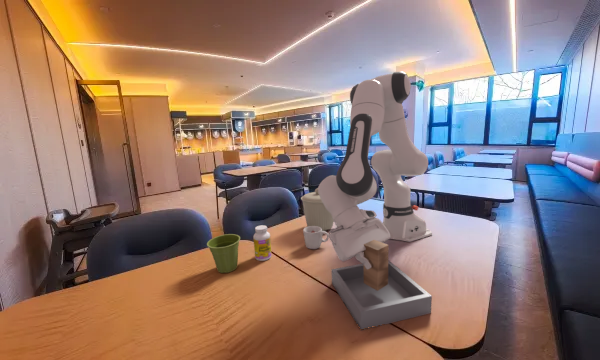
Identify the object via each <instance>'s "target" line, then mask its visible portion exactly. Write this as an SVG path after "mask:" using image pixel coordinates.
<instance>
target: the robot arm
mask: <svg viewBox="0 0 600 360" xmlns="http://www.w3.org/2000/svg"><path fill="white" fill-rule="evenodd" d="M411 87H412V85H411V79H410V78H409V76H408V73H406V72H404V71H393V73H387V74H382V75H379V76H376V77H374V78H371V79H365V80H362V81H361V82H359V83H357V84H355V85H354V86H353V87H352V88H351V90H350V91H349V100H350V104H351V108H350V118H349V123H350V127H349V132H348V139H347V145H346V149H345V155H344V157H343V160H342V162H341V164H339V165H340V166H339V167H338V168H337V172H336V175H334V174H332V175H328V176H326V177H325V178H323V179H322V180H321V182H320V183H319V185H318V187H317V188H318V193H319V196H320V198H321V200H322V202H323V204H324V206H325V208H326V209H327V211H328V212H329V213H330V214H331V215H332V218H333V221H334V222H333V223H334V225H335V226H336V227H335V228H331V229H329V232H328V236H329V241H330V242H331V245H332V248H333V249H334V252H335V254H336V257H337V258H338V260H339V261H341V262H346V261H349V260H350V259H352V258H355V259H356V260H357V261H358V262H359V263H360V264H364V266H365V267H366V269H370V268H371V267H373V266H374V265H373V263H372V261H371V260H369V261H368V260H367V259H366V258H365V257H364V250H366V248H365V246H364V244H366V243H368V242H370V241H372V240H377V241H379V242H382V243H385V242H387V241H388V240H390V239H391V240H397V241H404V242H408V243H409V242H414V241H417V240H420V239H423V238H427V237H430V236H433V232H432V230H430V229H429V228H427V224H426V221H425V220H424V218H422V217H421V216H419V215H418V214H416V213H415V212H414V211H418V210H419V206H417V205H413V204H411V193H412V192H411V187H410V186H409V184H407V183H406V182H405V181H404V180H403V179H402V176H406V177H416V176H422V175H424V173H426V171H427V169H428V167H429V160H428V156H427V155H426V154H425V153H424V152H423V151H421V150H420V149H419V148H417V146H416V145H415V144H414V143H413V141H412V139H411V138H410V135H409V133H408V127H407V123H406V117H405V112H404V111H405V110H404V106H403V103H404V102H405V101H406V100H407V99H408V98H409V95H410V92H411ZM377 134H378V136H379V140H380V141H381V142H382V144H385V146H387V147H388V148H389V149H384V150H383V149H382V150H378V151H376V152H374V154H373V155H372V156H371V161H370V162H371V166H372V167H371V166H370V164H369V152H370V145H371V137H372V136H375V135H377ZM371 168H372V169H373V170H374V171H375V172H376V173H377V174H378V176H379V178H380V180H381V183H382V187H383V199H384V200H383V201H384V203H383V204H382V212H383V221H381V219H379V218H378V217H377V213H376V212H375V210H369V209H362V208H361V209H360V208H359V206H358V205H360V204H363V203H365V202H368V201H369V200H371V199H372V198H373V197H374V196H375V195H376V193H377V191H378V184H377V181H376V179H375V177H374V174H373V171H372V169H371Z"/></svg>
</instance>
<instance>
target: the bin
mask: <svg viewBox="0 0 600 360" xmlns="http://www.w3.org/2000/svg"><path fill="white" fill-rule="evenodd" d="M331 284H332V286H333V287H334V289H335V291H336V292H337V294H338V295H339V297H340V299H341V301H342V302H343V303H344V305H345V307H346V309H347V310H348V312H349V313H350V315H351V317H352V318H353V320H354V322H355V321H356V322H355V324H356V325H357V324H358V325H357V326H359V327H360V328H359V327H358V328H359V330H360V329H364V328H368V327H372V326H376V327H379V326H378V325H380V326H383V325H382V324H385V325H388V324H392V323H396V322H400V321H404V320H408V319H409V320H410V319H413V318H417V317H420V316H421V317H422V316H425V315H428V314H431V313H432V305H433V304H432V299H433V296H432V295H431V294H430V293H429V292H427V291H426V290H425V289H424V288H423V287H422V286H420V284H418V282H416V281H414V279H412V278H411V277H410V276H409V275H408V274H406V273H405V272H404V271H402V270H401V269H400V268H399V267H398V266H397V265H395V264H394V263H393V262H391V260H389V259H388V284H387V285H386V286H384V287H383V288H381V289H380V290H378V291H377V290H375V289H373V288H372V287H370V286H368V285H366V284H365V283H364V264H362V263H359V264H358V263H357V264H353V265H349V266H342V267H338V268H331ZM372 328H373V327H372ZM368 329H369V328H368ZM364 330H365V329H364Z"/></svg>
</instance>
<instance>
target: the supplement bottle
mask: <svg viewBox="0 0 600 360" xmlns="http://www.w3.org/2000/svg"><path fill="white" fill-rule="evenodd" d="M254 231H255V233H254V234H253V237H252V238H253V246H254V247H253V248H254V258H255V260H257V261H259V262H264V261H267V260H270V259H271V257H272V244H271V243H272V242H271V233H270V232H269V231H268V227H267V225H263V224H262V225H257V226H255V228H254Z"/></svg>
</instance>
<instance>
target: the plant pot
mask: <svg viewBox="0 0 600 360" xmlns="http://www.w3.org/2000/svg"><path fill="white" fill-rule="evenodd" d="M240 241H241V236H240V235H238V234H234V233H228V234H227V233H226V234H222V235H217V236H215V237H213V238H211V239H209V240H208V241H207V243H206V246H207V247H208V248H209V251H210V253H211V255H212V258H213V261H214V263H215V264H214V265H215V266H216V269H217V272H219V273H221V274H224V273H231V272H233V271H235V270H236V269H237V267H238V261H239V260H238V258H239V257H238V256H239V247H240V246H239V245H240Z"/></svg>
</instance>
